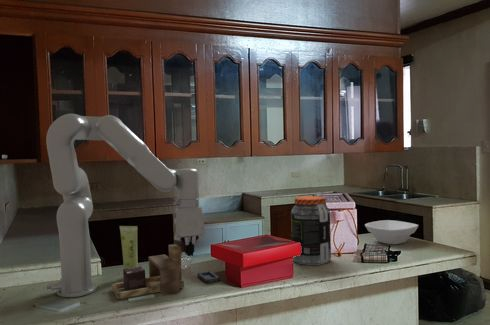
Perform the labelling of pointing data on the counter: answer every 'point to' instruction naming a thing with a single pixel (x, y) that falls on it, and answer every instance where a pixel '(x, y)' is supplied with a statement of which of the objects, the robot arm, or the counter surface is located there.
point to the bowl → (391, 231)
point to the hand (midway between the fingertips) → (189, 254)
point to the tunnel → (165, 273)
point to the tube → (129, 246)
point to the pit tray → (208, 277)
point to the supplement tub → (311, 229)
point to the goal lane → (141, 298)
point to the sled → (151, 278)
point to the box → (134, 278)
